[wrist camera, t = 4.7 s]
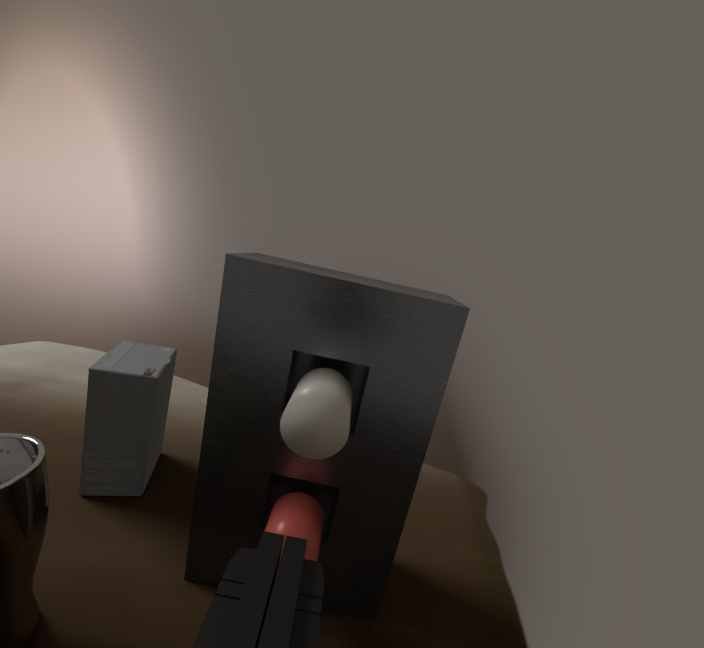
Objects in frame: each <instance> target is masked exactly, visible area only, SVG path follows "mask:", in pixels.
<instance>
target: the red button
mask: <svg viewBox="0 0 704 648" xmlns="http://www.w3.org/2000/svg"><path fill="white" fill-rule="evenodd" d="M323 521H324V511H323V508H322V506H321V505H320V503H319V502H318V501H317V500H316V499H315V498H313V497H312V496H310V495H308V494H305V493H300V492H293V493H288V494H285V495H283V496H281V497H280V498H279V499H278V500H277V501H276V502H275V504H274V506H273V509H272V511H271V514H270V517H269V520H268V523H267V525H266V528H265V531H266V532H271V533H276V534H282V535H285V537H284V542H283V547H284V543H285V539H286V536H292V537H298V538H303V539H308V541H307V547H306V552H305V558H304V559H308V560H313V561H318V554H319V548H320V541H321V534H322V528H323ZM283 547H282V551H283ZM281 555H282V552H281ZM280 558H281V557H280Z"/></svg>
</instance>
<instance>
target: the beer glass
mask: <svg viewBox="0 0 704 648" xmlns="http://www.w3.org/2000/svg"><path fill="white" fill-rule="evenodd" d="M48 508H49V488H48V476H47V468H46V461H45V447H44V445H43V444H42V443H41V442H40V441H39V440H38V439H36V438H34V437H31V436H28V435H23V434H16V433H0V648H27V647H28V646H29V645H30V643H31V641H32V640H33V638H34V636H35V634H36V632H37V629H38V626H39V622H40V611H39V607H38V604H37V602H36V599H35V597H34V594H33V586H32V585H33V577H34V573H35V569H36V565H37V562H38V558H39V555H40V551H41V547H42V543H43V540H44V536H45V530H46V525H47V520H48Z"/></svg>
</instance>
